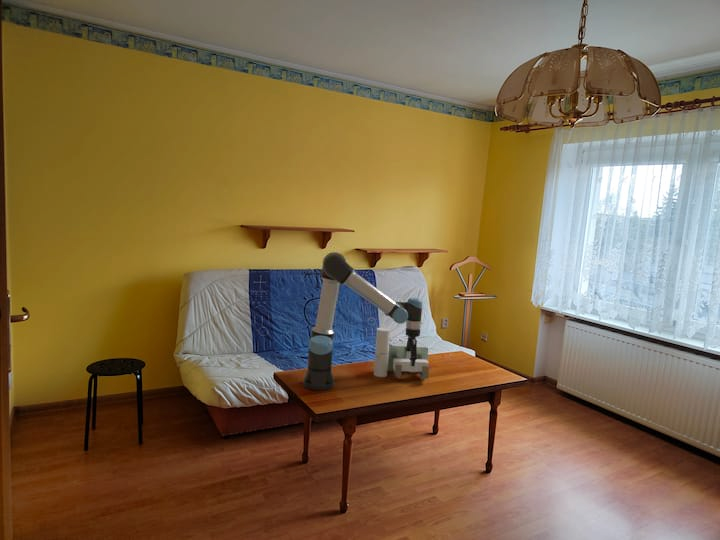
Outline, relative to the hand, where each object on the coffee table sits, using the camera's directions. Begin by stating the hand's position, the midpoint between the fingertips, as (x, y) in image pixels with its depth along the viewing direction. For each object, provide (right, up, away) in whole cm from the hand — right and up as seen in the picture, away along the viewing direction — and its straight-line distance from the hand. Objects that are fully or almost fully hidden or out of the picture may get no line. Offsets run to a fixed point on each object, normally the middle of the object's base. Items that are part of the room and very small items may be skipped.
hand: (410, 367), depth 245 cm
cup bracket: (0, -6, +4) cm, 7 cm away
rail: (0, -1, 0) cm, 1 cm away
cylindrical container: (-15, -5, +4) cm, 17 cm away
